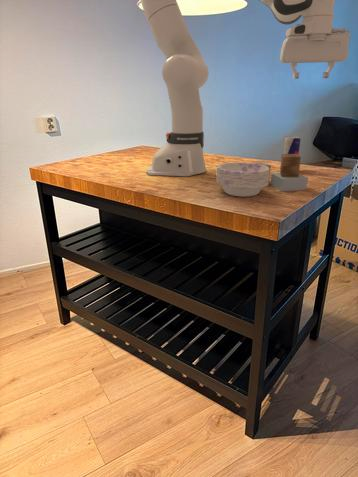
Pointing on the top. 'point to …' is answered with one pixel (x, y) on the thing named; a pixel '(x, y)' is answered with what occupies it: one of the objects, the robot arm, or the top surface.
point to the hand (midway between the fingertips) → (310, 78)
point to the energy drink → (292, 145)
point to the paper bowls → (242, 178)
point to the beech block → (265, 165)
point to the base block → (288, 182)
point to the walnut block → (290, 165)
